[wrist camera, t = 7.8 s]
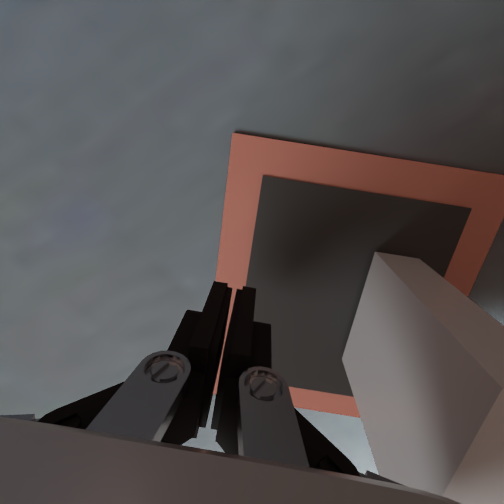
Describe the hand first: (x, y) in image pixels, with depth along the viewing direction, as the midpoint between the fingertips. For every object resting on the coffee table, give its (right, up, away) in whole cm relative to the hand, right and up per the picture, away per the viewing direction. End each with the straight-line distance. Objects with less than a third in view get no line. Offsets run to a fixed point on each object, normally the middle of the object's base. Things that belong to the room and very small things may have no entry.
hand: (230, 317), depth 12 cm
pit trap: (+5, 0, +3) cm, 6 cm away
